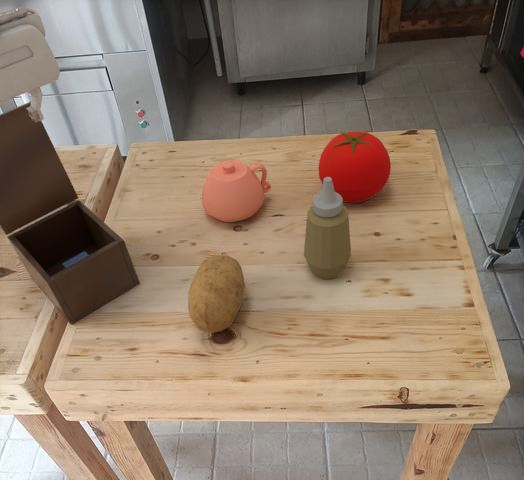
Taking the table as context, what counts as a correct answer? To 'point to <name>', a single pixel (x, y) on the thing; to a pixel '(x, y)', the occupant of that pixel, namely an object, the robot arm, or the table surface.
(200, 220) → the table surface
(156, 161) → the table surface
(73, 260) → the block
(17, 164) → the lid
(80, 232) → the chest
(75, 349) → the table surface
